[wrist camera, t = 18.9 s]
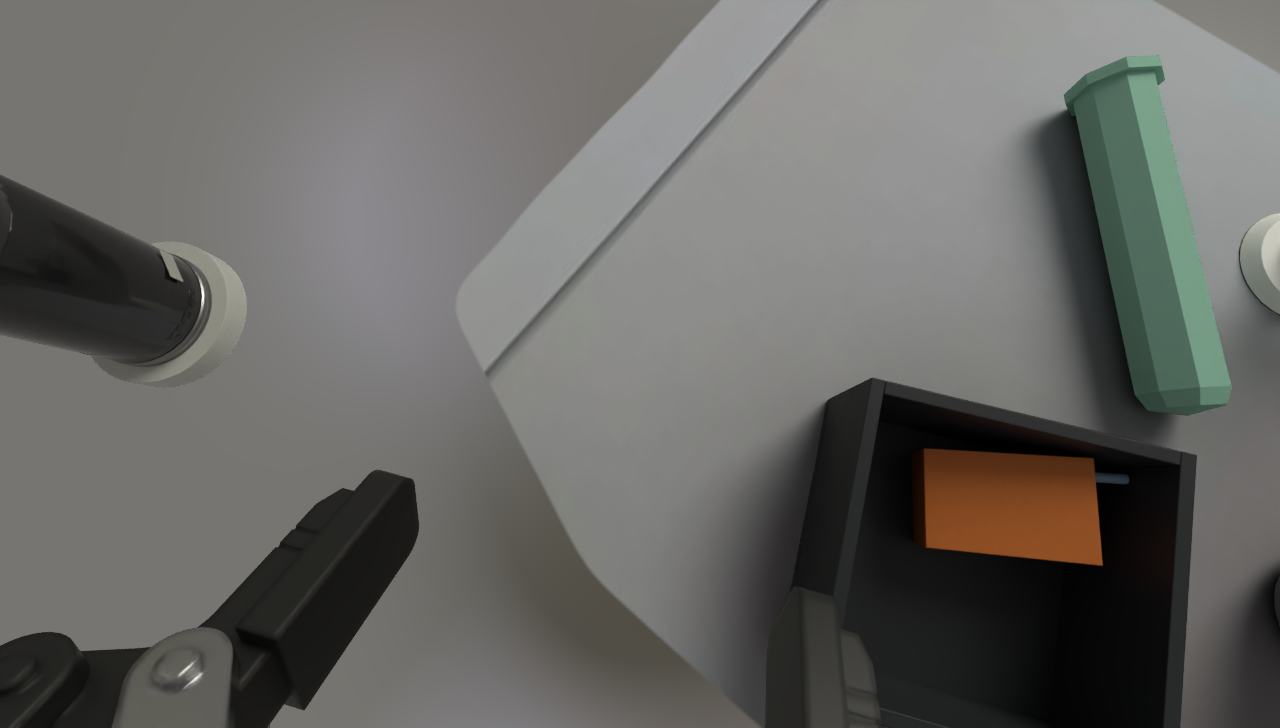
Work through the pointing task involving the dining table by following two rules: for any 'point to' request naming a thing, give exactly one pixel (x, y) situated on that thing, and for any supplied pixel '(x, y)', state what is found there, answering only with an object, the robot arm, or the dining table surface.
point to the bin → (1000, 574)
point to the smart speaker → (1277, 599)
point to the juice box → (1008, 504)
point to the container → (1149, 239)
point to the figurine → (1263, 260)
